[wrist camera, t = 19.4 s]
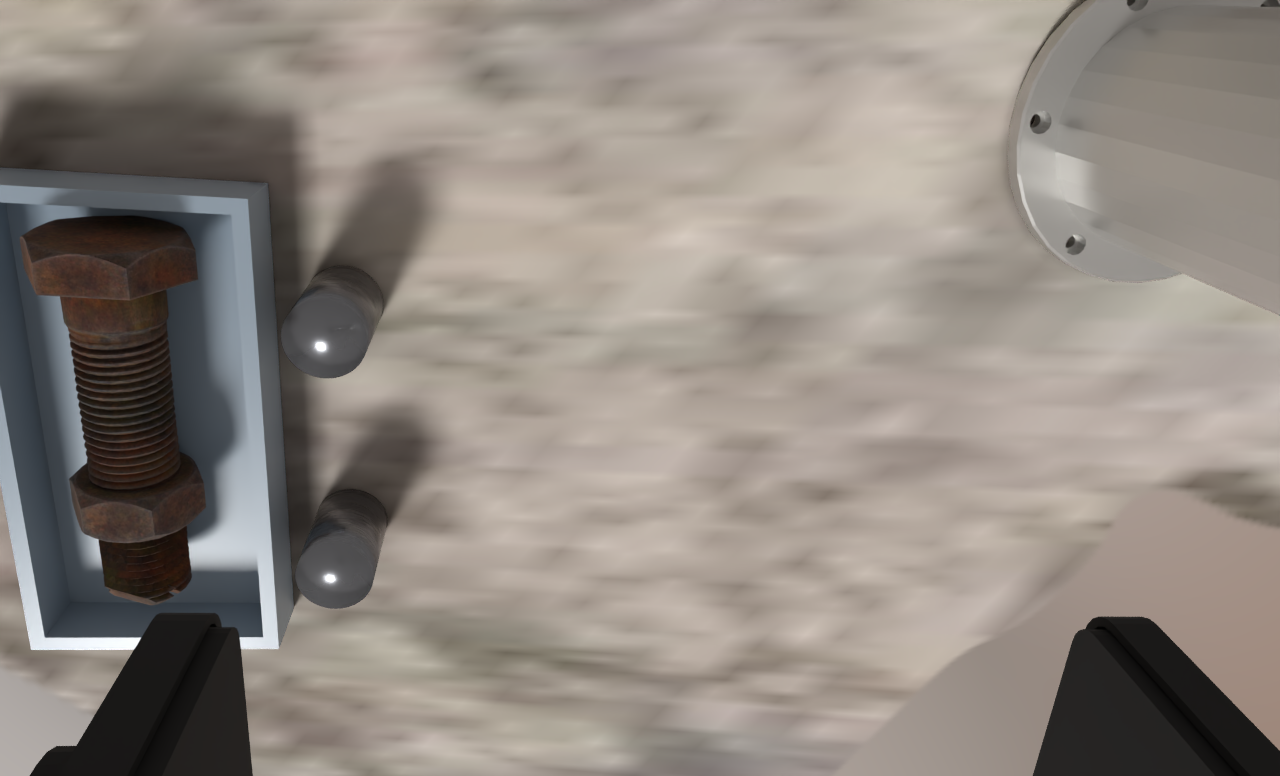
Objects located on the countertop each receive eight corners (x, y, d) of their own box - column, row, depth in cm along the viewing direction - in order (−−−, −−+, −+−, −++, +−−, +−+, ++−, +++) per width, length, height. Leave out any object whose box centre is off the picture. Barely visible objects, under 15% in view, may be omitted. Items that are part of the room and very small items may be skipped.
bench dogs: (382, 267, 39) (366, 301, 35) (387, 549, 44) (373, 608, 39) (304, 263, 38) (278, 297, 34) (318, 549, 43) (297, 608, 39)
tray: (268, 183, 37) (247, 198, 34) (293, 607, 44) (279, 648, 41) (-11, 166, 36) (-56, 181, 33) (62, 607, 43) (31, 649, 40)
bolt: (161, 536, 43) (124, 205, 37) (249, 572, 42) (226, 230, 36) (41, 605, 38) (-24, 235, 32) (136, 647, 37) (86, 266, 31)
